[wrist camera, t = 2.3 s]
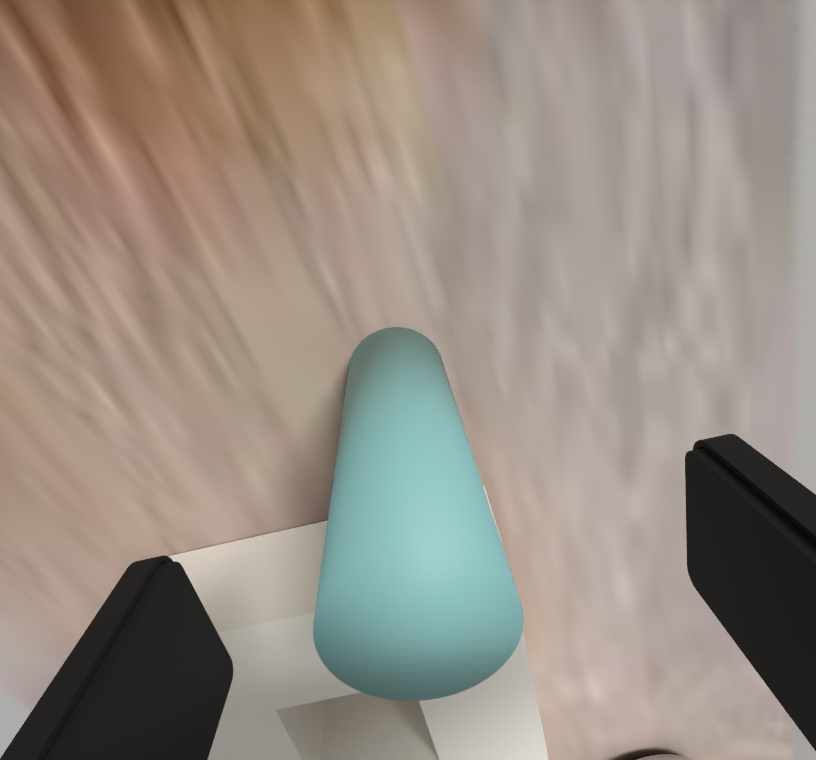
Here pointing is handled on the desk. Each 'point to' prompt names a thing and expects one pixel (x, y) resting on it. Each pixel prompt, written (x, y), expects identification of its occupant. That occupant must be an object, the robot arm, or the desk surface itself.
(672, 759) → the plastic bottle
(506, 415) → the desk surface
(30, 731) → the robot arm
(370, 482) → the peg
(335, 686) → the hole block
